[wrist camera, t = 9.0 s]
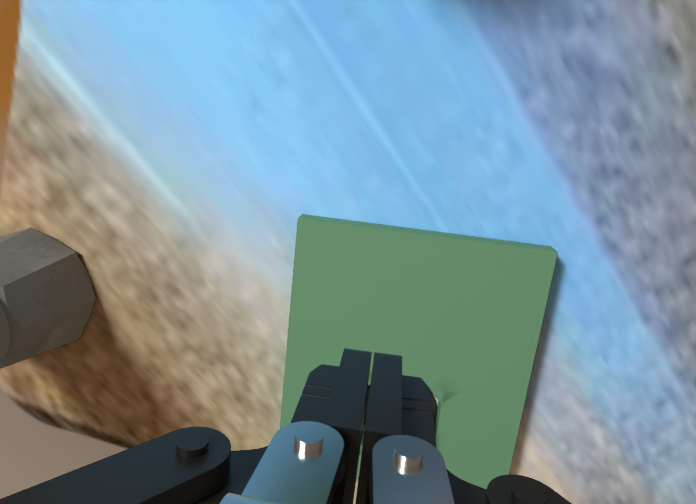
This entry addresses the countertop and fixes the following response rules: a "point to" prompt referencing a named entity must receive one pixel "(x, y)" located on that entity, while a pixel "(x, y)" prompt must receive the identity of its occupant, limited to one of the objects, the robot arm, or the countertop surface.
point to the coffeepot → (40, 295)
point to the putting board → (425, 325)
